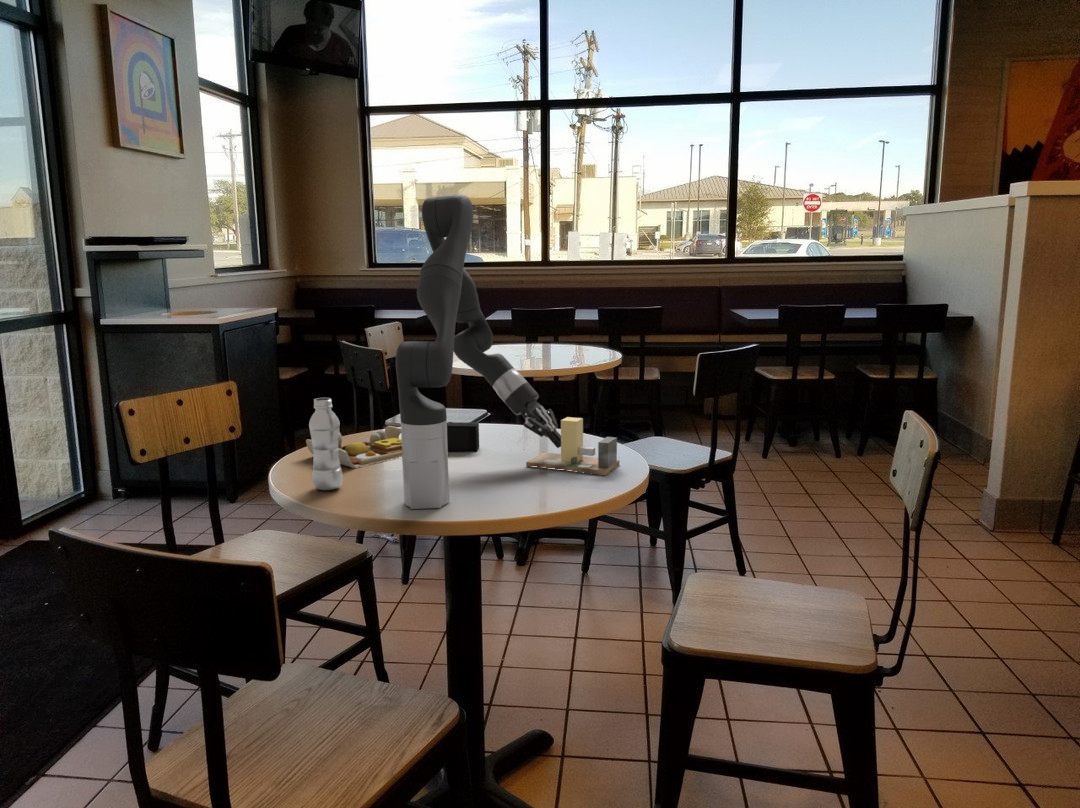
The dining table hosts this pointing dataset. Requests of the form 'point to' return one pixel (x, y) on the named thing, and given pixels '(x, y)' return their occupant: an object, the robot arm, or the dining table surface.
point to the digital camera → (462, 437)
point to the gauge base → (587, 464)
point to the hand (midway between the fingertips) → (562, 445)
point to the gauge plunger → (573, 440)
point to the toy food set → (369, 448)
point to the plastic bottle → (325, 446)
